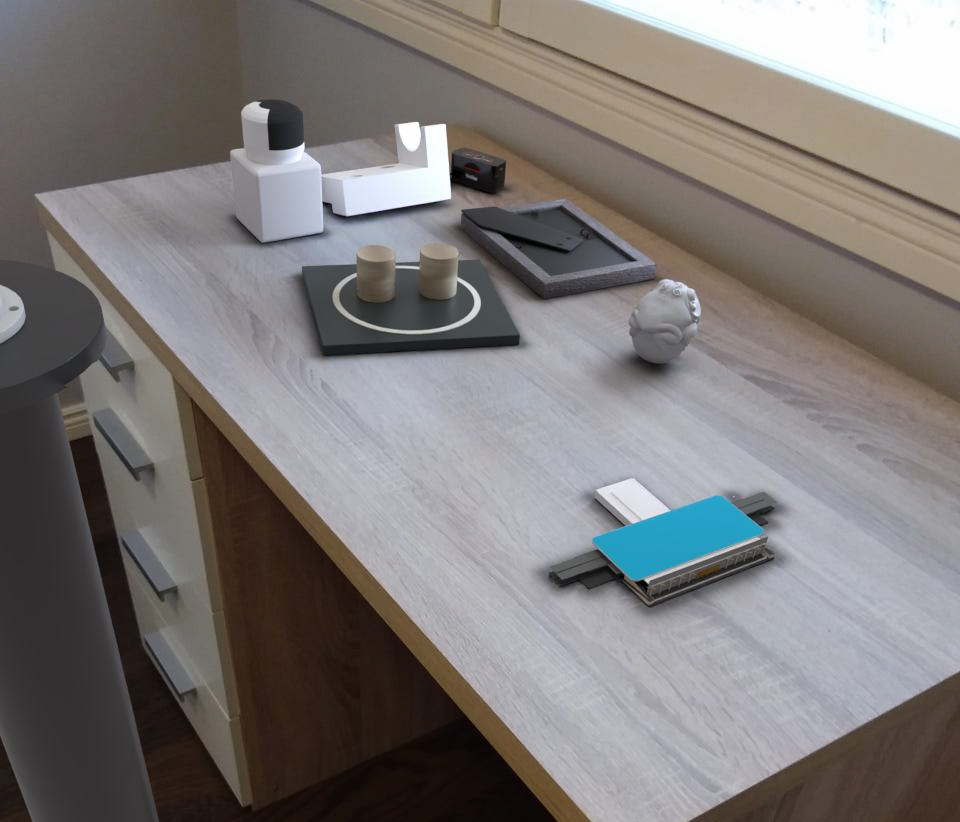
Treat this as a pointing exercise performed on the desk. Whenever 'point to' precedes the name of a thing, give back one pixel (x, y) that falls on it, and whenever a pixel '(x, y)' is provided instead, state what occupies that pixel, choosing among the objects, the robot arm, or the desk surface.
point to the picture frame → (556, 247)
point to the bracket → (395, 175)
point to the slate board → (406, 312)
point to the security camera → (276, 174)
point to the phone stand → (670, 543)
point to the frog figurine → (664, 321)
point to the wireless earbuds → (478, 170)
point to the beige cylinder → (438, 271)
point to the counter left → (376, 273)
